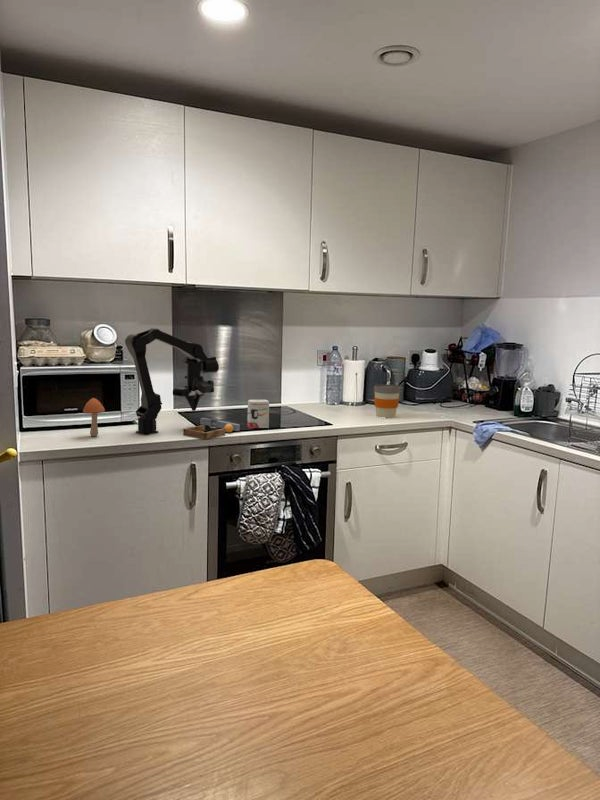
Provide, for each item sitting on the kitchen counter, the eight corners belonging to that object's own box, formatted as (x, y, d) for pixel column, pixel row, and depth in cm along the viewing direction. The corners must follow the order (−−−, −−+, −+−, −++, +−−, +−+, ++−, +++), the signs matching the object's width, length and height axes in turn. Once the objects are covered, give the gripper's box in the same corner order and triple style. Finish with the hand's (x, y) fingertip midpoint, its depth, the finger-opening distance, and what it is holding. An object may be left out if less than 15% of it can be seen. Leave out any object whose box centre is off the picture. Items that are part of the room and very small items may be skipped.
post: (214, 428, 239) (214, 422, 239) (207, 427, 242) (207, 421, 241) (221, 427, 243) (221, 421, 242) (214, 425, 245) (214, 420, 245)
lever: (236, 431, 233) (236, 424, 233) (199, 424, 245) (199, 417, 245) (240, 430, 235) (240, 423, 235) (204, 423, 247) (204, 416, 247)
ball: (229, 433, 230) (229, 425, 230) (222, 432, 232) (222, 423, 232) (235, 432, 233) (235, 423, 233) (228, 431, 235) (228, 422, 235)
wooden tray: (205, 439, 219) (205, 433, 219) (183, 435, 226) (183, 428, 226) (225, 435, 228) (225, 428, 228) (203, 430, 235) (203, 424, 234)
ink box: (249, 429, 240) (249, 401, 238) (247, 426, 245) (247, 399, 243) (269, 428, 243) (269, 401, 241) (266, 426, 247) (267, 399, 245)
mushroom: (98, 433, 226) (97, 395, 223) (109, 436, 221) (108, 397, 218) (79, 436, 219) (78, 397, 217) (90, 439, 214) (89, 400, 212)
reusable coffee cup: (367, 415, 280) (369, 384, 278) (389, 413, 286) (390, 384, 283) (381, 419, 269) (383, 388, 267) (403, 418, 274) (405, 387, 272)
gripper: (191, 377, 225) (191, 416, 227) (223, 373, 240) (223, 410, 242) (171, 374, 231) (171, 412, 234) (204, 371, 246) (204, 407, 249)
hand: (193, 410), depth 239 cm, fingers closed
